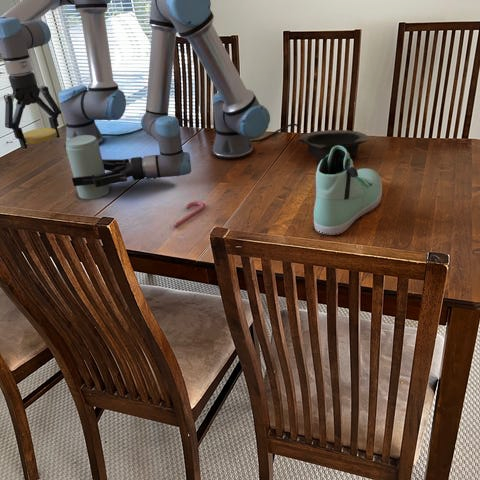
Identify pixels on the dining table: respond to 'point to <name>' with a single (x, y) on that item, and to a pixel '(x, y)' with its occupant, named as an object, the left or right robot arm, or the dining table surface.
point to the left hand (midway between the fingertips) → (40, 142)
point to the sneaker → (343, 192)
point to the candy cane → (194, 213)
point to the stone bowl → (333, 142)
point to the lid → (40, 135)
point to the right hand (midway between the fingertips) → (76, 175)
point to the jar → (86, 164)
